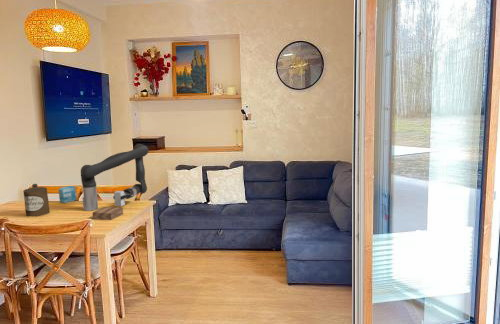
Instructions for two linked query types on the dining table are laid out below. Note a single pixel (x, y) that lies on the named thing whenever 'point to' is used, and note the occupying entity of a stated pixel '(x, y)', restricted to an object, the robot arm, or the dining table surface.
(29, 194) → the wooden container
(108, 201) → the dining table surface
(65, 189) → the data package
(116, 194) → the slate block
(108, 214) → the walnut block
